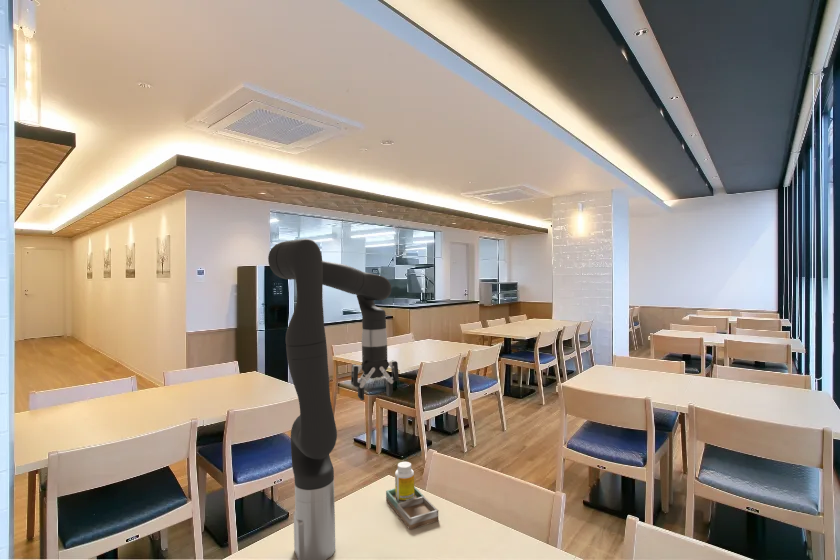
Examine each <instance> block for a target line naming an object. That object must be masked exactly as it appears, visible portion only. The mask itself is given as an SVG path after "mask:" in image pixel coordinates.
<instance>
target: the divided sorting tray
mask: <svg viewBox="0 0 840 560" xmlns="http://www.w3.org/2000/svg"><path fill="white" fill-rule="evenodd" d="M415 487H416V486H415V485H414V495H415V497H414V499H412V500H408V501H404V502H401V503H399V502H398V501H397V500H396V495H395V488H392V489H388V490H385V496H386V497H385V499H386V500H385V501H386V502H387V503H388V505H390V507H391V509H393V511H394V512H395V513H396V514H397V516H398V517H399V518H400V520H402V522H403V523H404V525H406V527H407V528H408V529H409V531H410V530H414V529H417V528H421V527H423V526H427V525H429V524H433V523H436V522H439V520H440V519H439V510H438V508H437V507H435V506H434V504H433V503H432V502H431V501H430V500H429V499H428V498H427V497H426V496H425V495H424V494H422V492H421V491H420V490H418V488H417V487H416V488H415Z"/></svg>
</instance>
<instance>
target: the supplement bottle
mask: <svg viewBox="0 0 840 560" xmlns="http://www.w3.org/2000/svg"><path fill="white" fill-rule="evenodd" d="M394 479H395V480H394V482H395V484H394V486H395V487H394V489H395V495H396V500H397V501H398V502H399V503H401V502H404V501H408V500H412V499H414V497H415V495H414V486H415V472H414V470H413V469H412V463H411V462H409V461H401V462H398V463H397V469H396V470H395V473H394Z"/></svg>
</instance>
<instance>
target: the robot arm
mask: <svg viewBox="0 0 840 560" xmlns="http://www.w3.org/2000/svg"><path fill="white" fill-rule="evenodd" d="M267 259H268V265H269V268H270V270H271V271H272V273H273V274H274V275H275V276H276V277H279V278H280V279H283V280H289V281H290V280H295V285H296V301H295V307H294V311H293V314H292V315H291V318H290V321H289V323H288V326H287V329H286V332H285V344H286V345H285V349H286V358H287V365H288V370H289V374H290V378H291V380H292V382H293V383H292V384H293V386H294V387H293V388H294V389H295V393H296V395H297V399H298V403H299V404H298V405H299V416H297V417H296V419H295V420H294V421H293V424H292V426H291V430H290V454H291V455H290V456H291V467H292V472H293V476H294V503H295V504H294V505H295V507H294V509H295V510H294V511H293V534H294V535H293V537H294V538H293V539H294V541H293V542H294V543H293V545H294V546H293V547H294V549H293V550H294V553H295V556H296V559H297V560H328V559H329V558H331V557H332V556H333V554H334V553H335V552H336V514H335V513H336V511H335V469H334V464H333V463H332V462H333V461H332V460H331V457H330V454H331V453H332V452H333V450H334V448H335V446H336V443H337V439H338V431H337V425H336V424H337V423H336V421H335V416H334V412H333V411H334V410H333V406H332V400H331V393H330V390H331V389H330V375H329V373H330V372H329V364H328V363H329V362H328V358H329V357H328V348H327V336H326V329H325V328H326V327H325V316H324V303H323V297H324V296H323V287H324V286H326V287H329V288H332V289H336V290H338V291H342V292H345V293H348V294H349V295H350V294H351V295H356V298H357V301H358V305H359V309H360V312H361V317H362V319H361V321H362V323H361V324H362V327H361V329H362V333H361V353H362V354H361V358H362V359H361V360H362V361H361V364H360V365H359V364H358V365H356V364H352V365H351V376H350V377H351V378H350V384H351V385H352V386H353V387H355V388H357V397H358V399H359V400H360V401H365V387H364V386H365V385H366V383H367V382H368V381H369V380H370V379H371V380H372V379H373V380H374V379H376V378H379V379H380V378H384V379H385V381H386V383H385V387H386V388H385V390H386V393H385V394H386V396H387V397H391V396H392V394H393V392H394V387H393V385H394V383H395V382H397V381H399V379H400V377H399V362H397V360H394V359H391V361H388V334H387V320H386V318H387V317H386V316H387V315H386V311H385V310H384V309H383V308H380V307H378V306H376V304H375V301H383V300H386V299H387V298H388V297H390V296H391V293H392V285H391V282H390V281H389V280H388V279H387V278H386V277H385V276H382V275H379V274H374V273H370V272H365V271H362V270H360V269H357V268H355V267H353V266H350V265H347V264H343V263H338V262H331V261H326V260H323V256H322V252H321V249H320V247H319V245H318V244H317V243H316V241H314V240H313V239H311V238H301V239H300V238H299V239H294V240H293V239H292V240H285V241H282V242H279V243H277V244H275V245H273V246H272V247H271V248H270V250H269V253H268V257H267ZM389 368H390V370H391V376H390V374H389V372H387V370H388V369H389ZM361 371H363V372H362V374H361V376H360V378H359V373H360V372H361Z"/></svg>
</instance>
